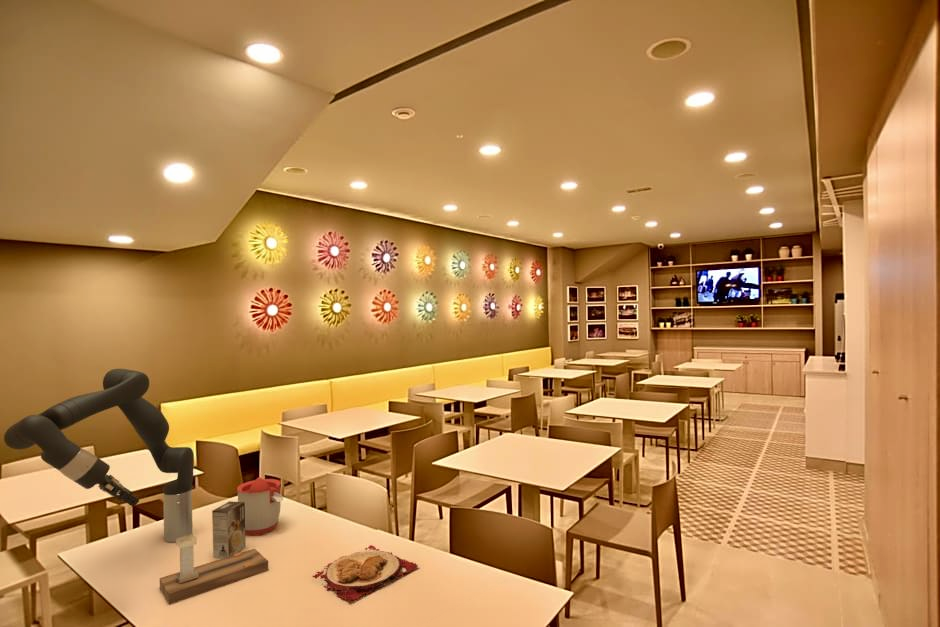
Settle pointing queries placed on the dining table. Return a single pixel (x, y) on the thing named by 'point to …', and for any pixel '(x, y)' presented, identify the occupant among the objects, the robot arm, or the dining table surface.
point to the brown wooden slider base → (214, 575)
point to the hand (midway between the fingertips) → (133, 499)
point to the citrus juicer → (260, 505)
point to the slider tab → (186, 558)
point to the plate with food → (363, 572)
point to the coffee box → (228, 529)
